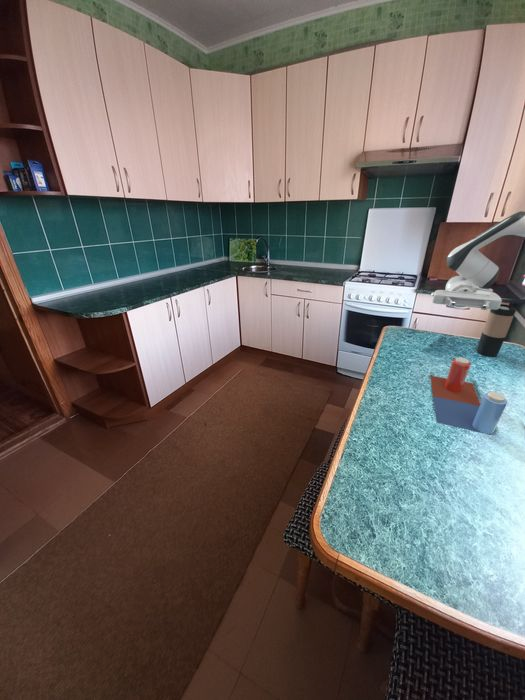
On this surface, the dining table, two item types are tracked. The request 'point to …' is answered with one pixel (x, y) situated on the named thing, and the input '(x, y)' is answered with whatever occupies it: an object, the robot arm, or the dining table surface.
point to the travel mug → (495, 330)
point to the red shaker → (457, 374)
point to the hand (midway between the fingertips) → (468, 306)
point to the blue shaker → (489, 412)
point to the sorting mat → (455, 404)
